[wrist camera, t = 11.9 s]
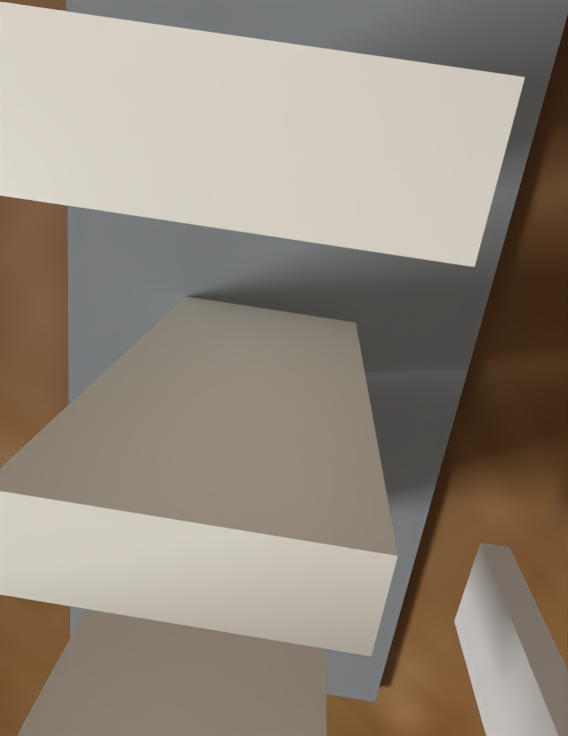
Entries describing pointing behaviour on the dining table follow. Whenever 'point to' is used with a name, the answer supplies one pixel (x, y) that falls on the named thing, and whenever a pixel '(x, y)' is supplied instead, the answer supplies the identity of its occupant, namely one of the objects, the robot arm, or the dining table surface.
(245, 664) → the domino
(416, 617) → the dining table surface
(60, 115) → the domino
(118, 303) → the mat
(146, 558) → the domino
